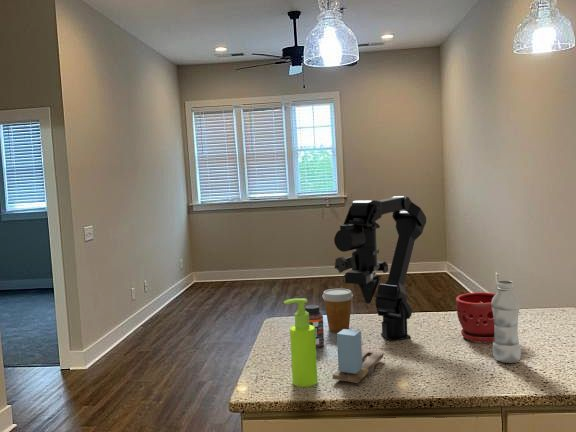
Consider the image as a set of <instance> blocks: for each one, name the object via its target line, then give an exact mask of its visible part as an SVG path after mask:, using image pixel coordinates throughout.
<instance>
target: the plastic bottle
mask: <svg viewBox="0 0 576 432" xmlns="http://www.w3.org/2000/svg"><path fill="white" fill-rule="evenodd" d="M496 290H497V292H496V293H494V294H495V295H494V297H493V298H492V301H491V305H492V311H493V317H494V328H495V330H494V342H492V356H493V358H494V359H495V360H496V361H498V362H501V363H506V364H514V363H515V364H516V363H517V362H519V361H520V359H521V356H522V349H521V344H520V342H519V341H520V340H519V339H520V338H519V331H518V329H519V327H518V326H519V325H518V324H519V313H520V305H521V304H520V301H519V299H518V298H517V296H516V294H515V293H514V292H513V291H514V281H511V280H498V281H497V282H496Z"/></svg>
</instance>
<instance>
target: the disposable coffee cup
mask: <svg viewBox="0 0 576 432" xmlns="http://www.w3.org/2000/svg"><path fill="white" fill-rule="evenodd" d="M321 297H322V298H323V302H324V307H325V315H326V319H327V326H328V330H329V332H334V333H339V332H340V331H341V330H343V329H349V330H350V324H351V323H350V322H351V308H352V299H353V297H354V295H353V292H352V291H351V290H350V289H348V288H331V289H325V290H324V291H323V294H322V296H321Z"/></svg>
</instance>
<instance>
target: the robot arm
mask: <svg viewBox="0 0 576 432" xmlns="http://www.w3.org/2000/svg"><path fill="white" fill-rule="evenodd" d="M390 213H392V217H391V218H392V219H393V220H394V222H395V229H396V230H395V231H396V232H397V235H398V237H397V241H396V244H395V248H394V253H393V257H392V261H391V265H390V269H389V264H388V263H387V262H386V261H381V260H378V254H380V248H377V230H378V229H380V227H381V225H380V224H379V223H377V221H378V220H380V219H381V218H382V216H383V215H386V214H390ZM426 224H427V216H426V215H425V213H424V211H423V210H422V208H421V207H419V205H417V204H415V203H414V202H413V201H412V200H411V199H410V197H409V196H406V195H393V196H392V197H388V198H383V199H380V200H379V199H377V200H373V199H372V200H371V199H370V200H366V199H365V200H363V199H362V200H360V199H359V200H358V199H357V200H355V199H354V200H353V201H352V202H351V204H350V206H349V209H348V211H347V215H346V217H345V219H344V221H343V224H340V225H339V230H338V231H337V232H336V233H335V236H334V238H333V239H334V240H333V241H334V245H335V247H336V249H338V251H340V252H344V253H345V252H350V251H352V252H351V255H350V256H349V257H346V258H345V257H344V256H339V257H337V258H335V262H334V269H336V270H337V272H338V273H339V274H341V273H344V272H345V271H346V273H344V275H343V284H351V285H352V284H354V285H355V284H356V285H358V286H359V288H360V290H361V293H362V296H363V299H364V302H365V304H370V303H372V300H373V297H374V295H375V300H374V304H375V308H376V312H377V315H378V316H379V317H382V321H381V333H380V336H381V337H383V338H386V339H387V340H389V341H392V342H393V341H398V340H404V339H408V338H411V335H410V334H408V320H409V319H411V317H412V315H413V308H412V306H411V305H410V304H409V303H408V301H407V298H408V294H407V291H406V288H405V284H406V279H407V275H408V270H409V265H410V262H411V257H412V255H413V254H412V253H413V249H414V246H415V241H416V240H417V239H418V238H419V237H420V236H421V235H422V234H423V231H424V229H425V227H426ZM350 269H351V270H350ZM376 272H383V274H385V273H388V277H387V280H386V281H385V283H380V280H381V279H382V276H381V275H378V274H377V273H376ZM377 287H378V288H377ZM376 290H377V291H376ZM376 292H377V293H376ZM375 293H376V294H375Z"/></svg>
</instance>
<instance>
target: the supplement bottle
mask: <svg viewBox="0 0 576 432" xmlns="http://www.w3.org/2000/svg"><path fill="white" fill-rule="evenodd" d="M305 311H307V312H308V313H309V325H312V326H314V327H315V340H316V349H317V348H321V347H323V346H324V344H325V333H324V316H323V315H324V314H322V313H321V312H320V306H319V305H316V304H310V305H309V304H308V305H305Z"/></svg>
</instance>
